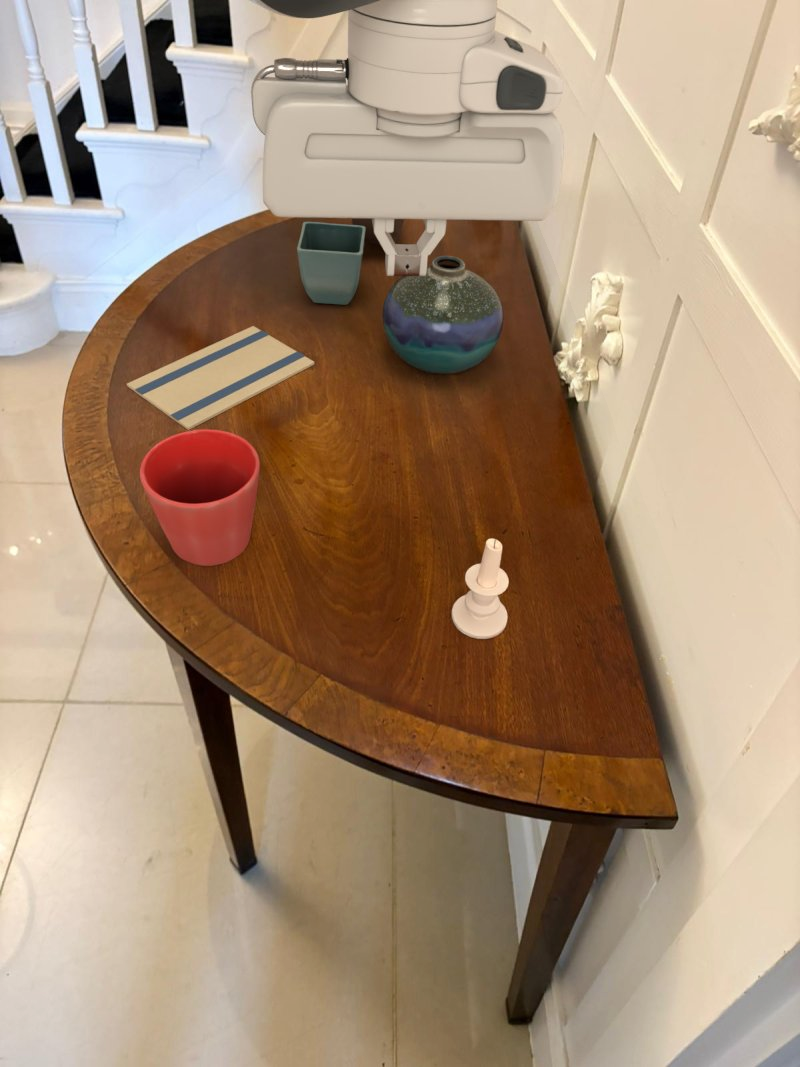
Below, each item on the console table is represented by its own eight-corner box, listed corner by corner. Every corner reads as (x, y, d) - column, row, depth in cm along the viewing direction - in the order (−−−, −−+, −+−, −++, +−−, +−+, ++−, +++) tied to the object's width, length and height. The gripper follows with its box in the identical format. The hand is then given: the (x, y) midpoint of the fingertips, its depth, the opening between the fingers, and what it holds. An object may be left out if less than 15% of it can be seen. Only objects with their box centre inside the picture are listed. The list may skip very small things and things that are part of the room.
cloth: (188, 430, 90) (187, 427, 90) (126, 386, 96) (126, 383, 95) (314, 364, 101) (314, 361, 101) (253, 328, 107) (253, 325, 106)
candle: (500, 594, 76) (518, 516, 68) (512, 637, 72) (532, 560, 65) (447, 597, 75) (459, 519, 68) (456, 641, 71) (470, 563, 64)
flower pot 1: (288, 532, 80) (284, 458, 73) (210, 596, 73) (197, 522, 66) (213, 487, 84) (203, 413, 77) (132, 545, 77) (113, 469, 70)
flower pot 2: (360, 314, 111) (362, 253, 105) (298, 310, 111) (296, 249, 104) (364, 284, 117) (365, 225, 111) (305, 280, 117) (303, 220, 111)
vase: (518, 374, 103) (537, 279, 93) (417, 403, 97) (426, 305, 87) (456, 318, 112) (467, 226, 102) (360, 341, 106) (362, 246, 96)
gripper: (246, 72, 45) (262, 293, 55) (589, 83, 48) (546, 294, 57) (250, 42, 50) (264, 251, 59) (564, 54, 52) (528, 254, 62)
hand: (405, 272), depth 58 cm, fingers closed
